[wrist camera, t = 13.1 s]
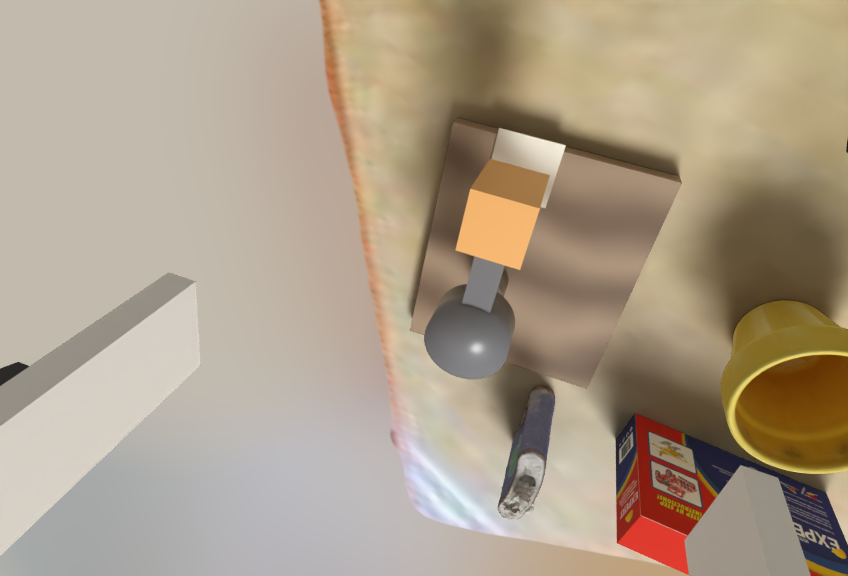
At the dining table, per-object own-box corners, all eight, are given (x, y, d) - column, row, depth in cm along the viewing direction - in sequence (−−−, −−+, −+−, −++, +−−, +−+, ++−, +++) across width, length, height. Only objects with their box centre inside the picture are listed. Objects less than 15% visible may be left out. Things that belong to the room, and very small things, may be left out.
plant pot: (717, 272, 42) (742, 343, 34) (876, 280, 39) (945, 359, 31) (697, 379, 47) (715, 463, 39) (837, 393, 44) (888, 487, 36)
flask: (533, 381, 52) (518, 465, 44) (563, 391, 52) (554, 478, 43) (508, 446, 57) (490, 533, 49) (535, 455, 57) (522, 545, 48)
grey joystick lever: (504, 357, 43) (490, 408, 38) (432, 333, 44) (409, 379, 39) (565, 179, 35) (557, 213, 30) (475, 154, 36) (453, 183, 31)
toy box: (615, 440, 53) (616, 543, 44) (635, 413, 51) (640, 515, 41) (798, 517, 51) (841, 643, 42) (826, 492, 49) (878, 618, 40)
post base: (459, 111, 42) (431, 136, 36) (682, 169, 40) (696, 208, 33) (414, 322, 53) (387, 370, 47) (587, 378, 51) (583, 438, 44)
